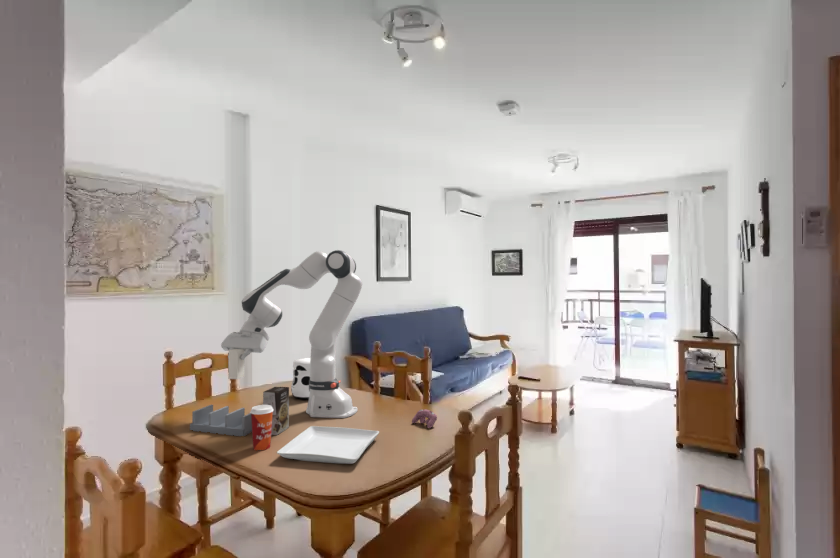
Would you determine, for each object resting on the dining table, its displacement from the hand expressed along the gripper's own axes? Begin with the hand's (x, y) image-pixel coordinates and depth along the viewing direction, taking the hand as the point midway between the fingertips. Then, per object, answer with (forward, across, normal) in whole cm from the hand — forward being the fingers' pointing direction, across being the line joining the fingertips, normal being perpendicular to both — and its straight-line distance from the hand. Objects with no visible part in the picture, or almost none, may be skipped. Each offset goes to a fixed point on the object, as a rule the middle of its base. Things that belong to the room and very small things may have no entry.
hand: (235, 358), depth 188 cm
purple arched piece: (+9, +81, +26) cm, 85 cm away
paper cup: (+37, +33, -2) cm, 49 cm away
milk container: (-8, +14, +43) cm, 46 cm away
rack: (+28, +8, +7) cm, 29 cm away
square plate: (+33, +57, +2) cm, 66 cm away
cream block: (+6, 0, +6) cm, 8 cm away
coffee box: (+25, +28, +9) cm, 39 cm away
